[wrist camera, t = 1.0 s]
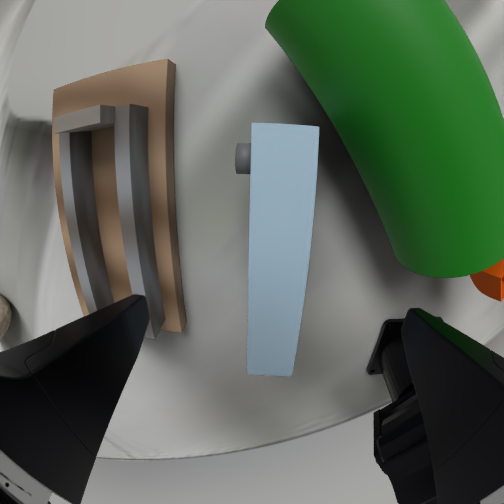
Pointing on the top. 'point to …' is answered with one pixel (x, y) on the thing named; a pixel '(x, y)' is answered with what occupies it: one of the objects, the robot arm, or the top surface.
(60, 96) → the cabinet base
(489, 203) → the motor
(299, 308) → the cabinet door
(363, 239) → the top surface
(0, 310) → the lumpy boulder
